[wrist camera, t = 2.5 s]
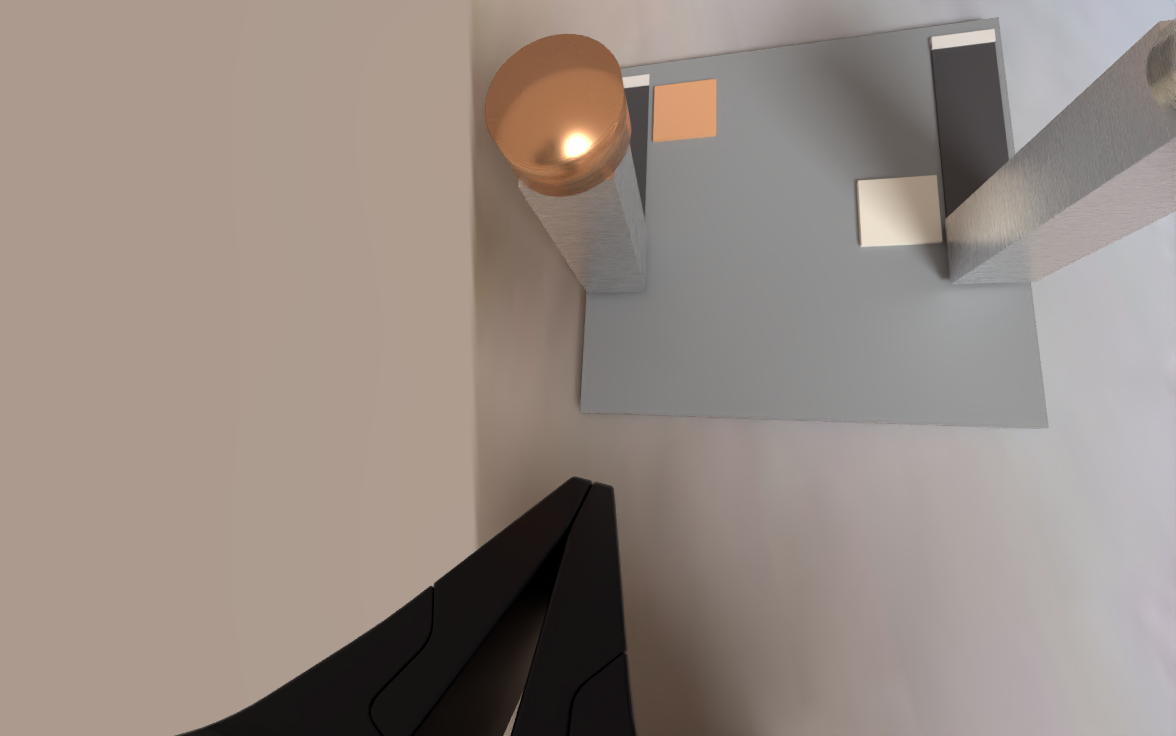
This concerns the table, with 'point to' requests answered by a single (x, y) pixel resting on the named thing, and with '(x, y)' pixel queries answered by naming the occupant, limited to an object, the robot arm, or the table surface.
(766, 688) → the table surface
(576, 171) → the lever
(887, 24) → the table surface
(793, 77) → the switch board
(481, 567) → the robot arm
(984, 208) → the lever
